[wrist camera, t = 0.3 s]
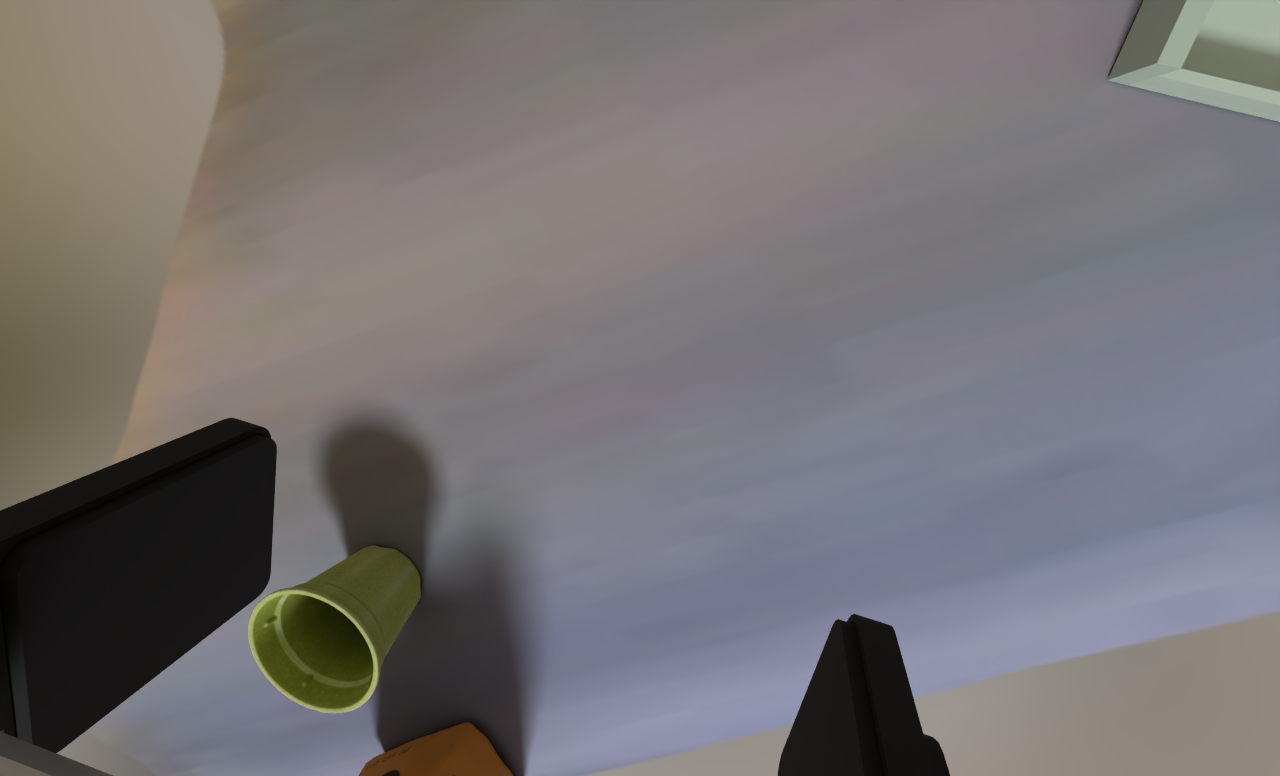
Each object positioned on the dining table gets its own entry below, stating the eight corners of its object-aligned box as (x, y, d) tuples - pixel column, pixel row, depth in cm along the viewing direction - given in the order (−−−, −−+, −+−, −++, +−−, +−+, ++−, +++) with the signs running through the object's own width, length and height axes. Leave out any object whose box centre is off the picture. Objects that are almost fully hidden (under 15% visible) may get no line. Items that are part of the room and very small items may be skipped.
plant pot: (394, 651, 52) (324, 736, 44) (310, 568, 51) (222, 639, 43) (466, 590, 49) (405, 669, 41) (377, 501, 48) (297, 563, 40)
